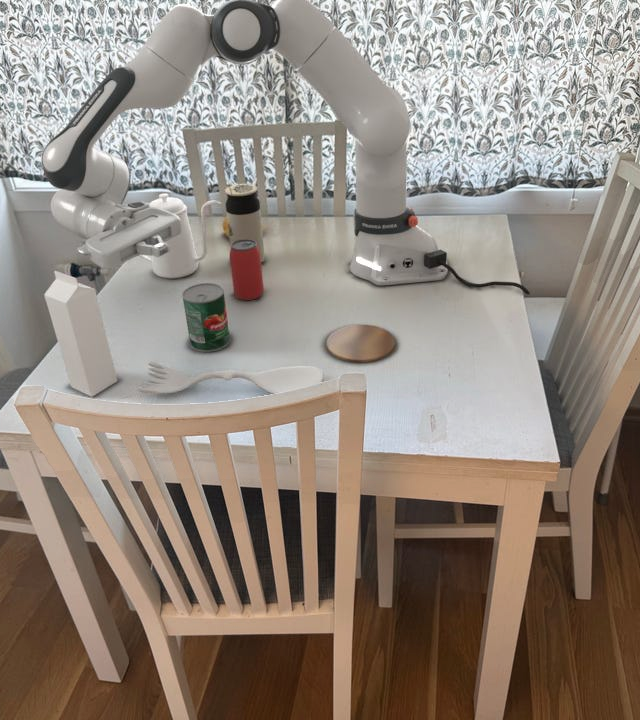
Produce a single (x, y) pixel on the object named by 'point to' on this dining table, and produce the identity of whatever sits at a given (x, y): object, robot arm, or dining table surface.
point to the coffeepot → (178, 241)
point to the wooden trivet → (360, 343)
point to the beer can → (246, 269)
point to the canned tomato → (206, 317)
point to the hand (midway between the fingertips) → (163, 251)
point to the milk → (80, 334)
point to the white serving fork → (266, 380)
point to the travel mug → (244, 215)
